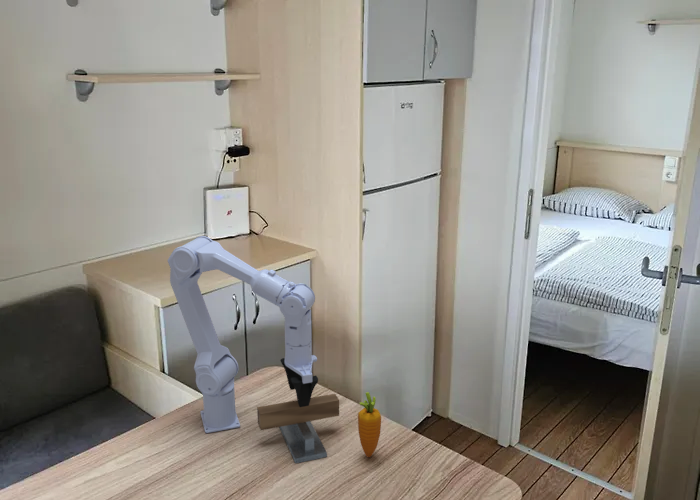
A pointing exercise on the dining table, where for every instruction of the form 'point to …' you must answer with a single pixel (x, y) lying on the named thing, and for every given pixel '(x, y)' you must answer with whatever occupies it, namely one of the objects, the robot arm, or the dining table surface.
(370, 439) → the carrot
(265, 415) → the walnut rod
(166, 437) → the dining table surface
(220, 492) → the dining table surface
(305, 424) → the stand
